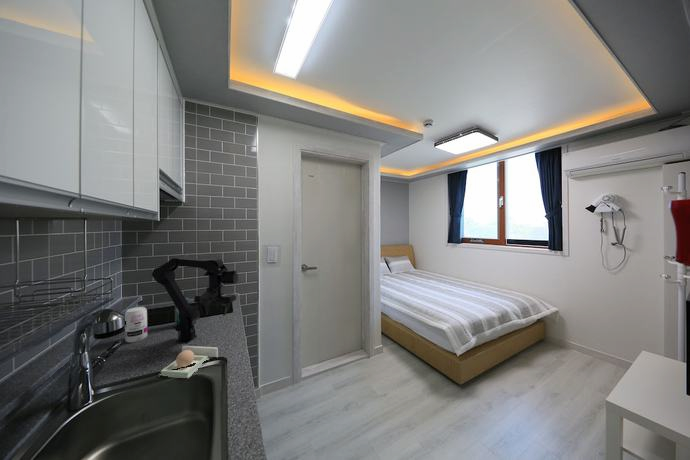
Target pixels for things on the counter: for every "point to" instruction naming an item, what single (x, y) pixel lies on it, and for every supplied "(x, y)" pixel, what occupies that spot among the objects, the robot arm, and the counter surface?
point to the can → (178, 313)
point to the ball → (185, 358)
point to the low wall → (202, 350)
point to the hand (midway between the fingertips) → (215, 315)
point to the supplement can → (136, 324)
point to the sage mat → (183, 371)
